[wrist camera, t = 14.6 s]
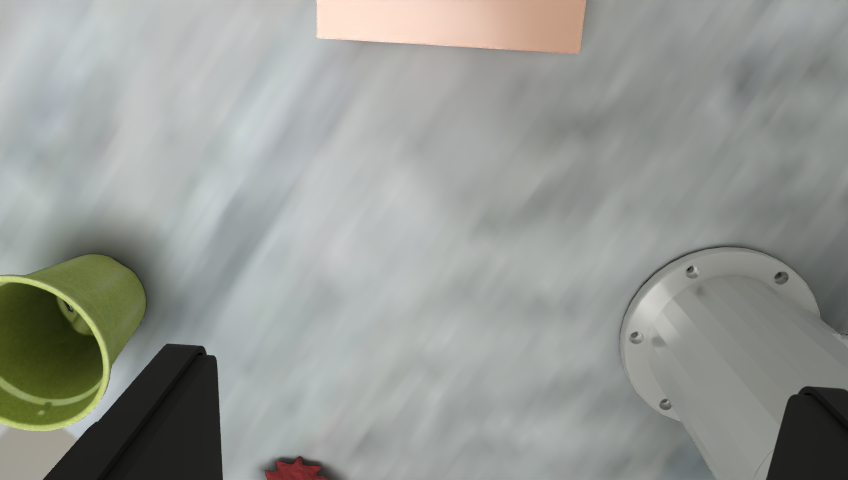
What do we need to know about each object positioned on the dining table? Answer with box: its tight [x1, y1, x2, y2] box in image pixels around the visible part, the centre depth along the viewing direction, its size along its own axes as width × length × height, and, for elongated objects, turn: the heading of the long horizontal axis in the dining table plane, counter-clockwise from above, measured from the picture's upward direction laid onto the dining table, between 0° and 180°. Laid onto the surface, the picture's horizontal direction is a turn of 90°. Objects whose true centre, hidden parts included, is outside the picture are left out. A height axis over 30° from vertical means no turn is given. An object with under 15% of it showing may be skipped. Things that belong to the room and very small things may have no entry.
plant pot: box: [0, 254, 146, 431], centre depth 39 cm, size 9×9×9 cm
